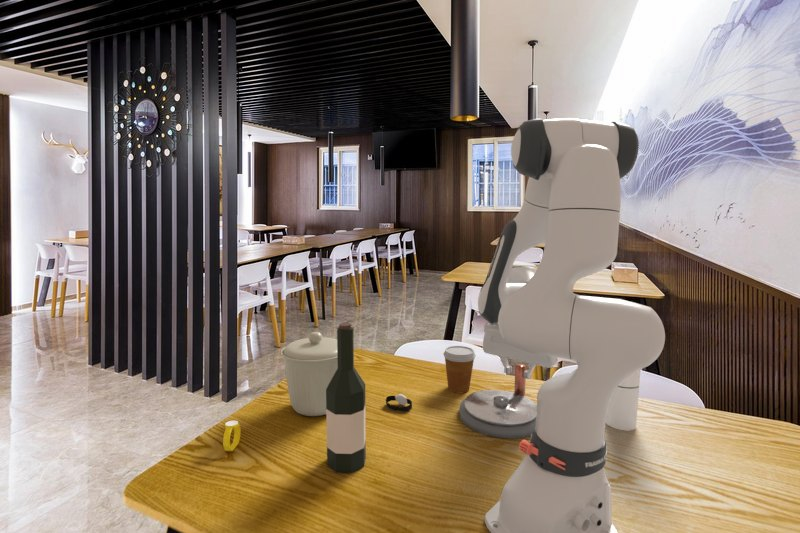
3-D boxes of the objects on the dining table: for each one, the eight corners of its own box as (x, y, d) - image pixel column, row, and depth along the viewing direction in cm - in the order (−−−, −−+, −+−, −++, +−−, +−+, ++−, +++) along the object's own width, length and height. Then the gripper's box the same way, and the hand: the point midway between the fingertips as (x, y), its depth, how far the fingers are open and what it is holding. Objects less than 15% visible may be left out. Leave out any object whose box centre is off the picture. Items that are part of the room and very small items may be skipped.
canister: (314, 431, 103) (312, 347, 100) (268, 410, 114) (265, 334, 111) (364, 405, 117) (363, 330, 115) (319, 388, 128) (317, 320, 126)
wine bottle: (323, 455, 93) (321, 321, 89) (360, 448, 96) (359, 317, 92) (331, 477, 85) (328, 331, 81) (371, 468, 88) (370, 327, 84)
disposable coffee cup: (437, 385, 131) (437, 347, 129) (463, 380, 135) (464, 343, 133) (453, 397, 122) (454, 357, 121) (481, 391, 126) (482, 352, 125)
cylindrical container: (628, 417, 111) (635, 323, 108) (641, 431, 104) (649, 331, 101) (600, 416, 111) (606, 322, 108) (610, 429, 104) (617, 330, 101)
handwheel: (509, 434, 97) (511, 394, 96) (449, 407, 111) (450, 371, 110) (553, 409, 110) (555, 374, 109) (494, 387, 124) (495, 355, 122)
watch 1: (232, 442, 99) (231, 417, 98) (243, 442, 99) (243, 417, 98) (220, 454, 93) (219, 428, 92) (232, 455, 93) (232, 428, 92)
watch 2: (415, 407, 116) (415, 395, 116) (407, 414, 112) (407, 401, 112) (390, 401, 120) (390, 389, 119) (382, 408, 116) (382, 395, 115)
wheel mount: (505, 448, 96) (505, 439, 96) (442, 413, 113) (442, 405, 112) (559, 421, 108) (560, 413, 108) (495, 393, 125) (496, 386, 125)
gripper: (479, 321, 118) (477, 369, 120) (551, 334, 105) (549, 388, 106) (490, 317, 123) (489, 363, 124) (561, 329, 110) (558, 381, 111)
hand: (517, 375), depth 115 cm, fingers open, 4 cm apart
